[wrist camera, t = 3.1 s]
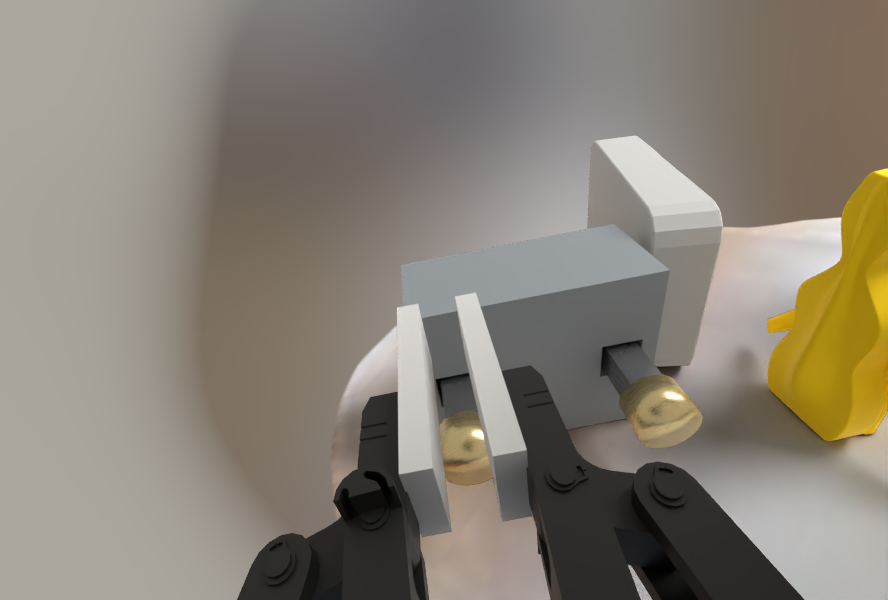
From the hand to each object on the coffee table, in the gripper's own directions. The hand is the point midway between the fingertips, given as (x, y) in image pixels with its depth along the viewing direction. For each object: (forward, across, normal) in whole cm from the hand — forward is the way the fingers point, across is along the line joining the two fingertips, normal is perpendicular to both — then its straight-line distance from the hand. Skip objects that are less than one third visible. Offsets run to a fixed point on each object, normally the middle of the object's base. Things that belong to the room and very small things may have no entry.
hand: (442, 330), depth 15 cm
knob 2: (+10, +14, -18) cm, 25 cm away
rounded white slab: (+30, +24, -24) cm, 46 cm away
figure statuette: (+9, +31, -24) cm, 40 cm away
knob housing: (+16, +7, -24) cm, 30 cm away
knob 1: (+10, 0, -18) cm, 21 cm away
